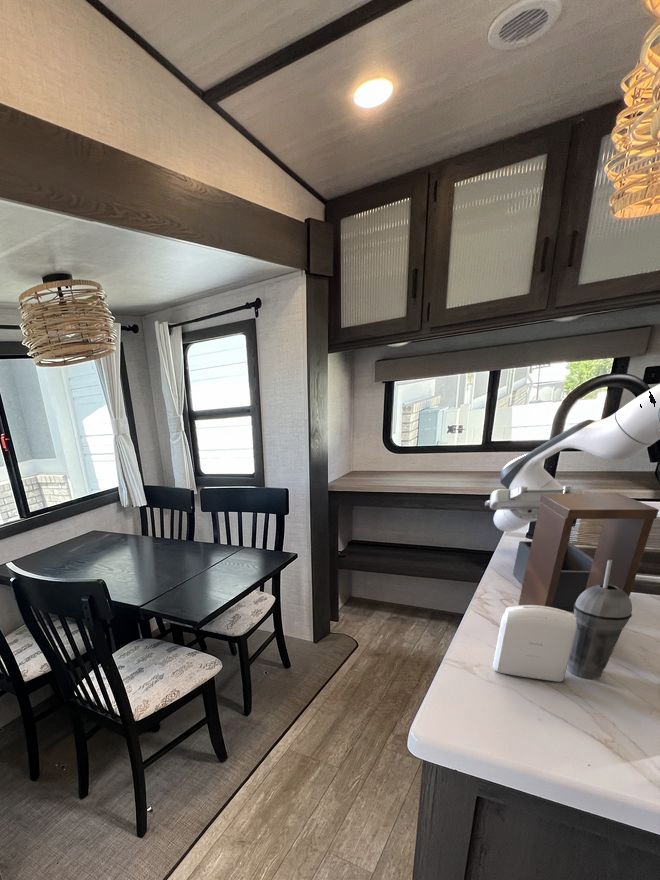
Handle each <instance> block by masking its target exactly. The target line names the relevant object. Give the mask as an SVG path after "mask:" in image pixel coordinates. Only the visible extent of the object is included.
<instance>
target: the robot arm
mask: <svg viewBox="0 0 660 880" xmlns="http://www.w3.org/2000/svg"><path fill="white" fill-rule="evenodd" d="M649 391H650V392H651V394H652V395H653V397H654V399H655V401H656V403H655V407H654V404H653V403H651V402H650V398H649V396H650V393H649ZM640 404H641V406H642V408H641V407H640ZM659 440H660V383H658V384H657V385H655V386H652V387H651V388H650V389H648V390H646V391H644V392H643V393H641V394H639V395H638V396H637V397H635V398H633V399H632V400H631V401H629V402H628V403H626V404H625V405H624V406H622V407H621V408H619V409H618V410H617V411H615V412H614V413H613V414H611V415H609V416H607V417H605V418H601V419H598V420H593V419H586V420H583V421H581V422H579V423H577V424H575V425H573V426H571V427H570V428H568V429H566V430H565V431H563V432H561V433H559V434H557V435H556V436H554V437H552V438H551V439H549V440H547V441H546V442H545V443H544V442H543V444H540V445H539V446H538V447H536V448H534V449H533V450H531V451H529V452H528V453H526V454H524V455H521V456H519V457H517V458H514V459H513V460H511V461H509V462H508V463H507V464H506V465H505V466H503V468H502V469H501V471H500V474H499V475H500V476H499V481H500V484H501V485H502V486H504V488H501V489H495V490H493V491H492V492H491V493H490V497H489V499H488V500H485V502H484V506H485V507H488V508H490V509H491V510H494V511H495V512H494V514H493V518H492V519H493V524H494V526H495V527H496V528H497V529H498V530H499V531H501V532H504V533H512V532H515V531H518V530H520V529H522V528H524V527H525V526H527V525H528V524H529V523H531V522H532V523H533V522H535V523H536V521H537V516H538V511H539V507H540V503H541V502H540V497H541V494H573V493H585V492H584V489H583V488H581V487H573V485H571V484H570V485H564V486H563V485H562V484H561V483H560V482H559V481H558V480H556V479H555V478H554V477H553V476H552V475H551V474H550V472H548V471H547V470H546V469H545V468H544V467H543V465H542V462H543V461H545V460H546V459H548V458H550V457H552V456H553V455H556V454H557V453H559V452H560V451H562V450H565V449H576V450H580V451H583V452H585V453H588V454H591V455H593V456H595V457H598V458H600V459H601V458H602V459H605V460H613V461H614V460H615V461H616V460H624V459H630V458H632V457H633V456H636V455H637V454H638V453H641V452H643V451H644V450H645V449H648V447H649V448H650V447H651V446H652V445H654V444H655V443H656V442H658V441H659ZM505 488H506V489H505Z"/></svg>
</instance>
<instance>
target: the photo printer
mask: <svg viewBox="0 0 660 880" xmlns="http://www.w3.org/2000/svg"><path fill="white" fill-rule="evenodd" d="M498 630H499V631H498V635H497V641H496V647H495V651H494V656H493V657H494V658H493V662H492V668H493V670H494V671H495V672H496V673H499V674H505V675H511V676H517V677H523V678H530V679H537V680H542V681H549V682H560V683H561V682H562V681H563V680H564V679H565V676H566V672H567V670H568V669H567V667H568V661H569V658H570V654H571V650H572V646H573V642H574V638H575V634H576V631H577V623H576V617H575V614H574V613H572V612H571V611H564V610H561V609H557V608H552V607H546V606H536V605H523V606H518V605H515V606H509V607H506V608H505V611H504V613H503V615H502V617H501V619H500V625H499V629H498Z"/></svg>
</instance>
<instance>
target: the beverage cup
mask: <svg viewBox="0 0 660 880" xmlns="http://www.w3.org/2000/svg"><path fill="white" fill-rule="evenodd" d="M611 564H612V560H608V562H607V568H606V573H605V579H604V584H603V585H596V586H593V587H590V588H588V589H587V590H585V591H584V592H583V593H581V594H580V596H579V597H578V598H577V600H576V603H575V604H574V611H573V614H575V617H576V623H577V631H576V634H575V638H574V642H573V646H572V650H571V654H570V658H569V661H568V665H567V669H566V670H567V671H568V672H569V673H570V674H572V675H573V676H575V677H579V678H583V679H586V680H587V679H588V680H596V679H600V677H601V676H602V673H603V672H604V670H605V669H606V667H607V665H608V662H609V660H610V658H611V656H612V654H613V651H614V649H615V647H616V645H617V642H618V641H619V638H620V636H621V634H622V631H623V630H624V628H625V627H626V626H627V624H628V622H629V621H630V619H631V618H632V617H633V613H632V612H633V605H632V601H631V598H630V596H628V595H627V594H626V593H625V592H624V591H623V590H621V589H620V588H618V587H615V586H612V585H608V581H609V575H610V570H611Z"/></svg>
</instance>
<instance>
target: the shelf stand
mask: <svg viewBox="0 0 660 880" xmlns="http://www.w3.org/2000/svg"><path fill="white" fill-rule="evenodd" d="M540 502H541V503H540V507H539V511H538V516H537V521H535V526H534V530H533V535H532V544H531V549H530V553H529V558H528V563H527V567H526V572H525V576H524V581H523V586H522V585H521V591H520V596H519V599H518V604H517V606H523V605H536V606H546V607H552V606H553V601H554V597H555V593H556V589H557V585H558V581H559V577H560V573H561V569H562V565H563V561H564V557H565V553H566V549H567V545H568V542H570V536H571V534H572V533H571V532H572V528H573V524H574V521H575V520H595V519H596V520H602V519H603V523H602V528H601V531H600V534H599V538H598V541H597V545H596V549H595V552H594V557H593V558H592V559H593V563H592V567H591V570H590V574H589V578H588V581H587V585H586V589H585V590H587V589H588V588H590V587H593V586H596V585H603V584H604V579H605V573H606V568H607V562H608V560H612V564H611V570H610V575H609V581H608V585H612V586H615V587H618V588H620V589H621V590H623V591H624V592H625V593H626V594H627V595H628V596H629V597H631V593H632V590H633V586H634V584H635V580H636V577H637V574H638V571H639V569H640V565H641V561H642V560H643V559H642V558H643V555H644V552H645V549H646V546H647V543H648V539H649V537H650V533H651V530H652V527H653V525H654V524H653V523H654V520H656V519H657V518H658V514H659V510H660V509H659V508H657V507H653V506H651V505H650V504H646V503H644V502H641V501H639V500H636V499H634V498H631V497H629V496H626V495H624V494H621V493H619V492H596V493H595V492H584V493H573V494H541V497H540Z"/></svg>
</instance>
